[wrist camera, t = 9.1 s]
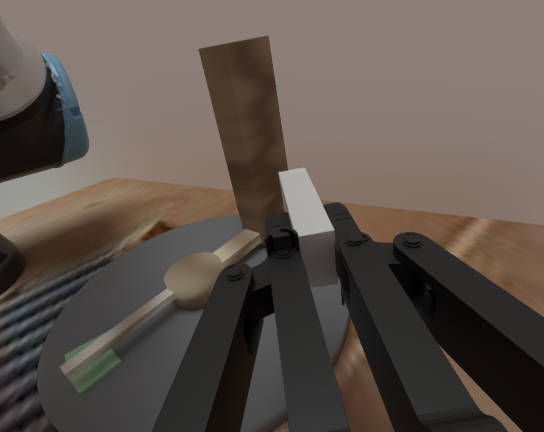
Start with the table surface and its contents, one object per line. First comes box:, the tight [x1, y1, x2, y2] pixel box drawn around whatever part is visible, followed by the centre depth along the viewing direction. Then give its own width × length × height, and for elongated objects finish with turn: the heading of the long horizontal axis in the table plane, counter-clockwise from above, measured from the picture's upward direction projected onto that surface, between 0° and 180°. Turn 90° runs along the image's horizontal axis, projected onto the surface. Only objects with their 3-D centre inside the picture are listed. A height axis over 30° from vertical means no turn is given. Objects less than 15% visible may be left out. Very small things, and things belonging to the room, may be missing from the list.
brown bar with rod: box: [60, 36, 288, 380], centre depth 24 cm, size 24×5×18 cm, turn 140°
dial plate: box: [37, 215, 350, 432], centre depth 29 cm, size 26×26×2 cm
